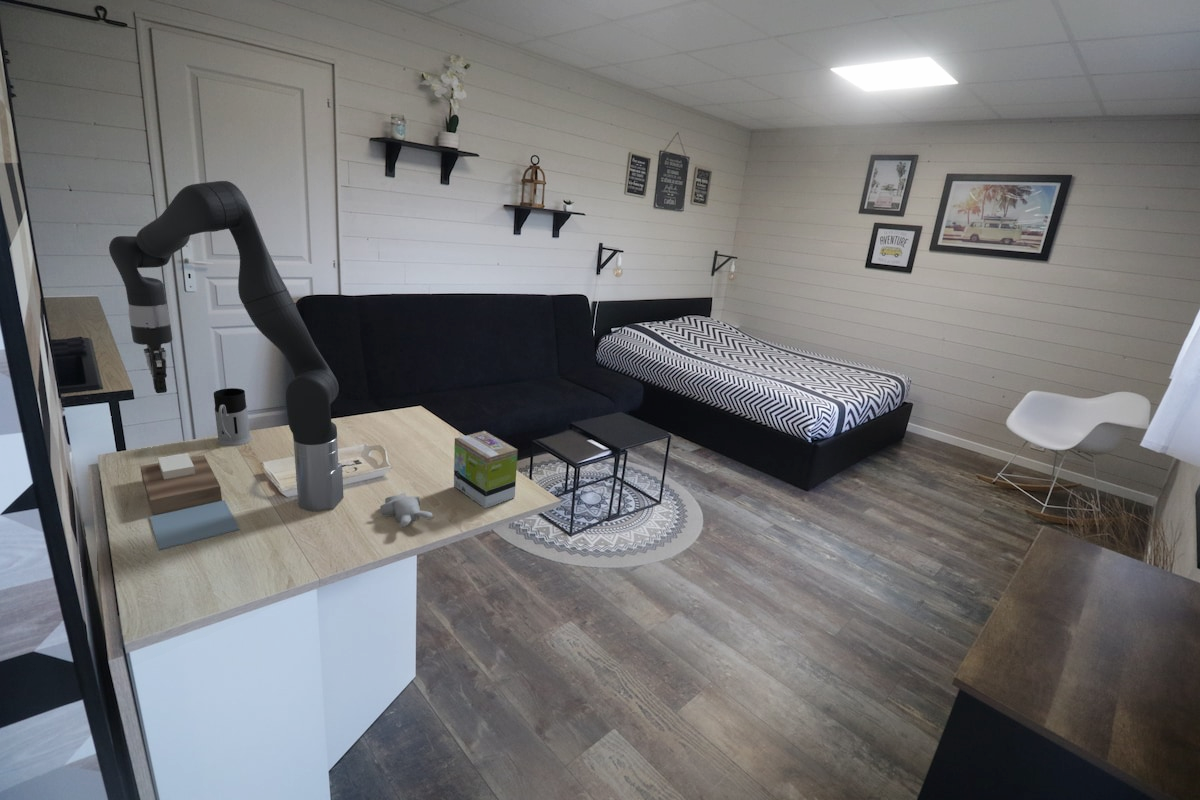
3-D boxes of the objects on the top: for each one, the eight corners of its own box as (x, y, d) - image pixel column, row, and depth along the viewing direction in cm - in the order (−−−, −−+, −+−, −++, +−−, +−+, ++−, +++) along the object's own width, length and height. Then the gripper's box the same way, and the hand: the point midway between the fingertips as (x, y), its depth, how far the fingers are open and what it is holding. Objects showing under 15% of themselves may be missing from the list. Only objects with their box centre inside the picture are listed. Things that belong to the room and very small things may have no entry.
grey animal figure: (411, 486, 140) (437, 505, 129) (412, 504, 141) (438, 525, 131) (373, 495, 134) (397, 516, 123) (374, 514, 135) (398, 537, 124)
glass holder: (255, 434, 169) (250, 387, 164) (242, 453, 156) (237, 403, 151) (221, 435, 166) (216, 387, 161) (206, 454, 153) (199, 403, 148)
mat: (150, 517, 123) (149, 516, 123) (224, 501, 132) (224, 500, 132) (159, 550, 112) (158, 548, 112) (239, 529, 122) (239, 528, 122)
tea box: (452, 487, 150) (453, 436, 145) (483, 477, 157) (484, 429, 153) (484, 509, 141) (487, 456, 136) (516, 498, 148) (519, 447, 143)
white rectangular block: (158, 465, 137) (157, 457, 136) (188, 460, 141) (187, 452, 140) (164, 479, 131) (162, 471, 130) (195, 473, 135) (194, 466, 134)
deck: (142, 480, 137) (140, 466, 136) (206, 469, 146) (204, 455, 144) (152, 516, 123) (150, 500, 122) (222, 500, 132) (220, 485, 131)
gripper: (127, 317, 135) (138, 385, 140) (133, 329, 126) (144, 401, 131) (166, 316, 140) (175, 382, 145) (174, 327, 131) (183, 397, 136)
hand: (160, 391), depth 138 cm, fingers closed
